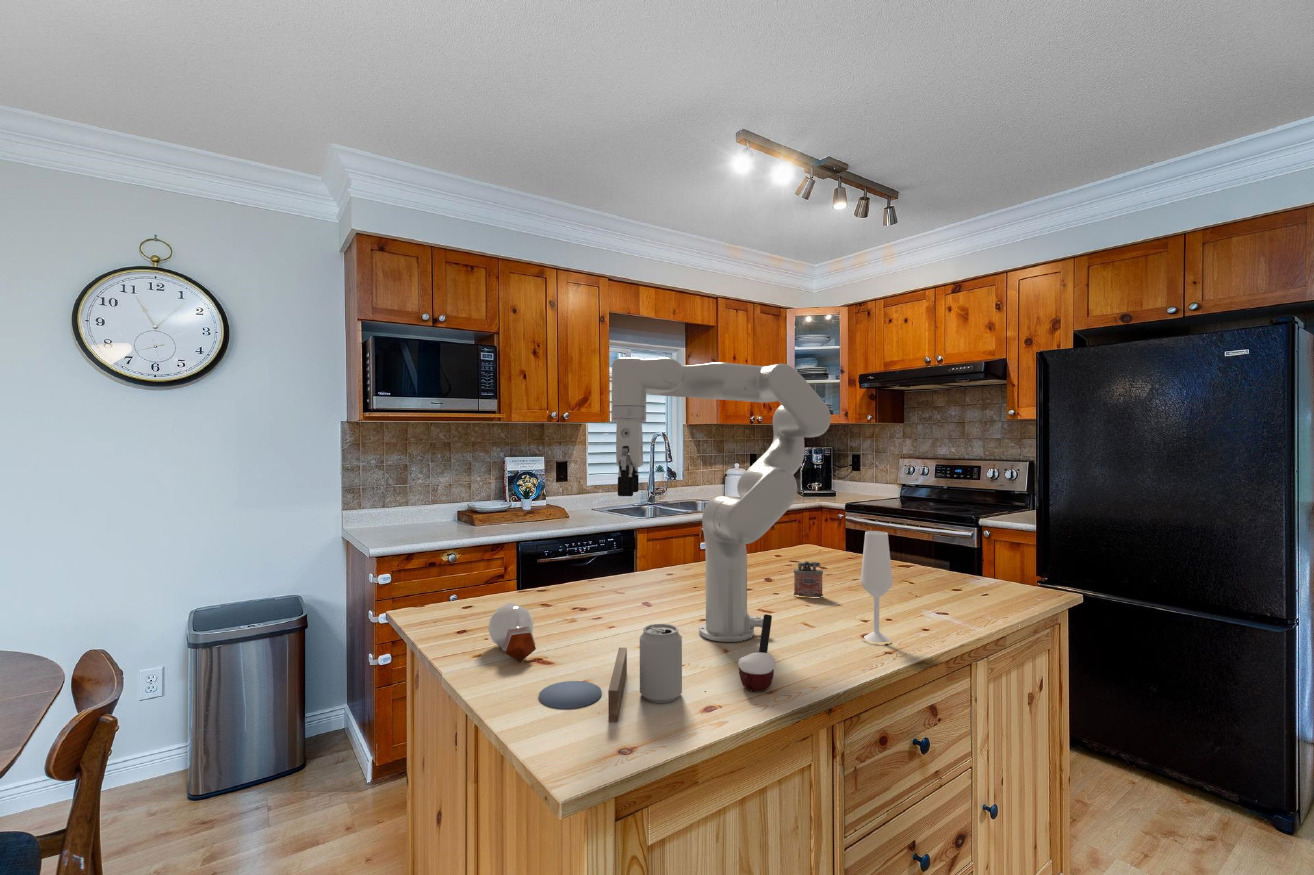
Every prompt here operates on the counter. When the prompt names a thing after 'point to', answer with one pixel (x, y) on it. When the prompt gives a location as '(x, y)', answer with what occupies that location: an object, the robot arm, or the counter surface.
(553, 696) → the mat
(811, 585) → the lighter
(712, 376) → the robot arm
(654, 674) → the can
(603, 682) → the counter surface
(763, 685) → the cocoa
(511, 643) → the potion bottle
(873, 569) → the champagne flute
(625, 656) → the low wall
